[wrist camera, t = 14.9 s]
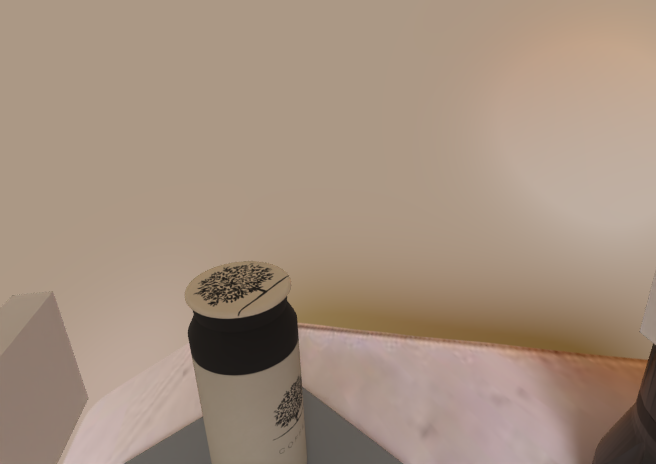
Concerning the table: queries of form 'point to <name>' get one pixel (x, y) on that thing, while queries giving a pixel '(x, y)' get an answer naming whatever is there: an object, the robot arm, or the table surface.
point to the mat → (320, 430)
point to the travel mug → (247, 364)
